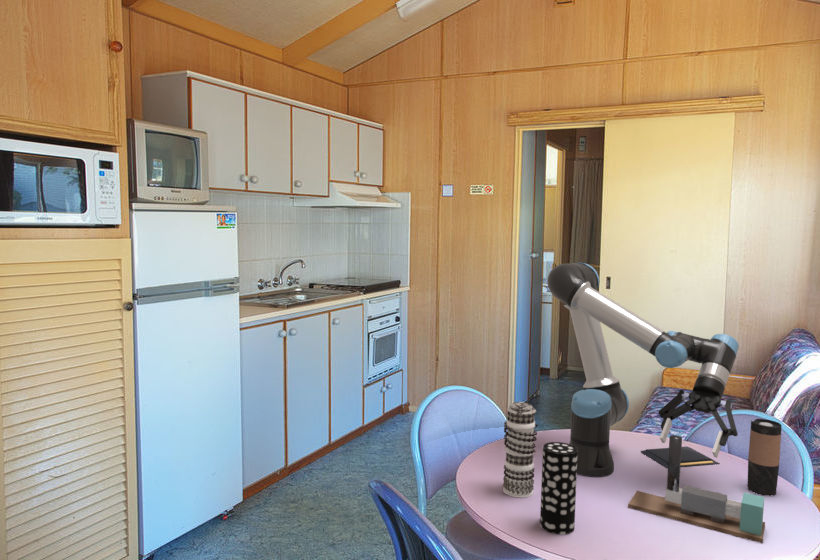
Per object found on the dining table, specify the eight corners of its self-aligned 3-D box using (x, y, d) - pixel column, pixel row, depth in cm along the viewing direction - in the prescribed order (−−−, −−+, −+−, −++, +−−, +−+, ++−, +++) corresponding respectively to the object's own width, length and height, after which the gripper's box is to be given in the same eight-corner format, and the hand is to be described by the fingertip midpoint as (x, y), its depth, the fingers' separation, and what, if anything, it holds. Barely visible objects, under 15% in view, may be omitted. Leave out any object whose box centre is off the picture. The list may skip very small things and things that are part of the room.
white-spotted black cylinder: (535, 518, 151) (538, 442, 149) (567, 517, 152) (570, 441, 150) (545, 535, 143) (549, 454, 141) (579, 534, 143) (583, 454, 142)
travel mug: (781, 497, 166) (786, 428, 164) (751, 494, 167) (756, 425, 165) (770, 486, 173) (775, 419, 171) (742, 483, 175) (746, 417, 173)
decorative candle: (504, 482, 173) (507, 398, 170) (536, 487, 169) (540, 401, 167) (498, 494, 164) (501, 406, 162) (532, 500, 161) (535, 410, 159)
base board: (627, 507, 158) (628, 503, 158) (636, 494, 166) (636, 490, 166) (762, 543, 141) (762, 539, 141) (764, 526, 149) (765, 522, 149)
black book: (690, 444, 204) (722, 461, 189) (690, 449, 204) (721, 466, 189) (638, 447, 199) (666, 464, 185) (637, 452, 200) (666, 470, 185)
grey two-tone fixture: (665, 500, 156) (668, 437, 154) (667, 496, 158) (670, 434, 157) (754, 522, 145) (759, 455, 143) (755, 517, 147) (760, 451, 146)
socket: (739, 530, 145) (741, 502, 144) (742, 519, 150) (743, 492, 150) (760, 535, 142) (762, 507, 142) (762, 524, 148) (764, 497, 147)
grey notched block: (680, 513, 153) (681, 491, 152) (683, 506, 157) (685, 484, 157) (723, 524, 147) (725, 502, 147) (726, 516, 152) (727, 494, 151)
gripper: (762, 399, 161) (741, 468, 152) (669, 381, 179) (645, 441, 170) (758, 384, 157) (735, 454, 148) (663, 366, 175) (638, 428, 166)
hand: (687, 447), depth 159 cm, fingers open, 13 cm apart
